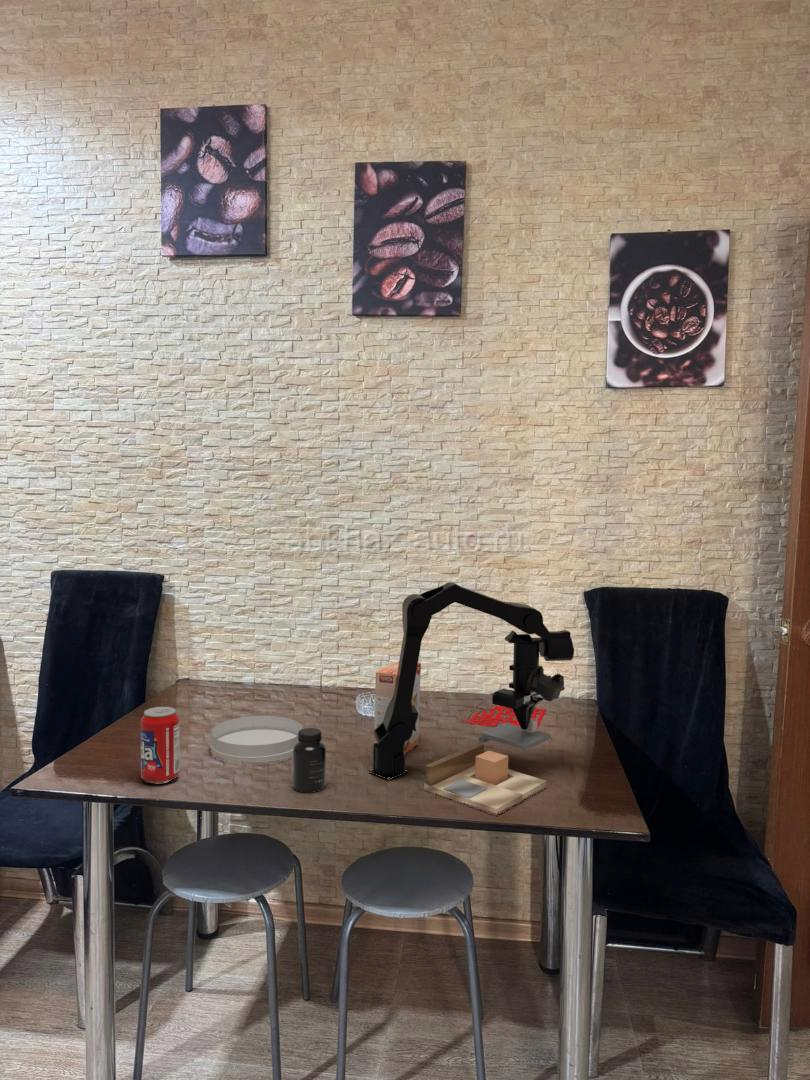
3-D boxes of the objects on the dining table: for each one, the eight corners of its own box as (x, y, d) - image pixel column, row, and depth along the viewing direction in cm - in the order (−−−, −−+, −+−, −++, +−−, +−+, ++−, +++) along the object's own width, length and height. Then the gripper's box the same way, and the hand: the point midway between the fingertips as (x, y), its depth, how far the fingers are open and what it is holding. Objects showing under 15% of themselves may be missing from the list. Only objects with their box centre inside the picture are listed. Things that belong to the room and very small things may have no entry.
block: (475, 783, 162) (475, 756, 162) (488, 777, 166) (489, 750, 166) (494, 790, 159) (495, 762, 158) (507, 783, 163) (508, 756, 162)
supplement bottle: (286, 786, 159) (286, 730, 158) (312, 778, 164) (312, 723, 163) (306, 796, 154) (306, 738, 153) (332, 787, 159) (332, 731, 158)
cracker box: (395, 764, 172) (397, 674, 171) (372, 760, 175) (373, 671, 173) (420, 745, 185) (422, 661, 184) (398, 741, 188) (399, 658, 186)
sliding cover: (478, 741, 171) (479, 721, 171) (503, 731, 179) (503, 711, 179) (526, 755, 163) (527, 734, 163) (550, 743, 171) (550, 723, 170)
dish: (285, 771, 168) (285, 749, 168) (193, 762, 172) (193, 740, 172) (316, 738, 190) (316, 719, 189) (234, 731, 194) (234, 712, 194)
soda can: (183, 782, 160) (183, 713, 159) (145, 789, 156) (144, 718, 155) (174, 770, 167) (174, 703, 165) (137, 776, 163) (137, 708, 162)
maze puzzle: (461, 724, 204) (461, 721, 203) (477, 704, 222) (477, 702, 222) (535, 733, 197) (535, 730, 197) (546, 711, 216) (546, 709, 216)
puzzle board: (424, 790, 158) (424, 765, 157) (477, 766, 172) (477, 742, 172) (496, 816, 146) (497, 788, 146) (546, 787, 160) (547, 762, 160)
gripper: (535, 675, 158) (533, 748, 159) (578, 660, 172) (576, 727, 173) (491, 666, 165) (489, 736, 166) (535, 652, 179) (534, 717, 180)
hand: (524, 729), depth 171 cm, fingers closed
